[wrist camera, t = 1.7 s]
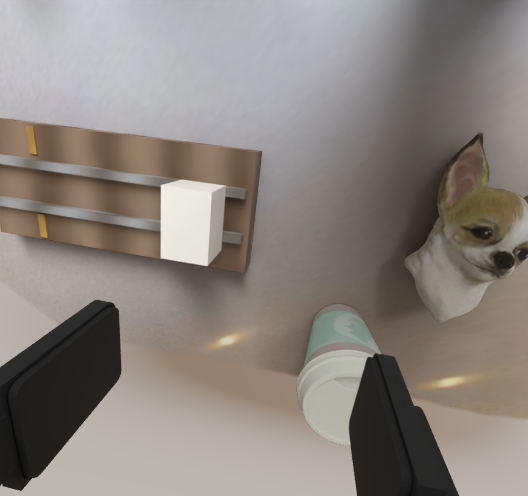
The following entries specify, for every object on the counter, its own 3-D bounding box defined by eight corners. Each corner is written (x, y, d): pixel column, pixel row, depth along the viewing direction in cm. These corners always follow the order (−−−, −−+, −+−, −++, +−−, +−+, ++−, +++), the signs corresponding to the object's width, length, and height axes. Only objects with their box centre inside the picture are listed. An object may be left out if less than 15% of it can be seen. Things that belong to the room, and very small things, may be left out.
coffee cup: (389, 341, 35) (426, 435, 24) (321, 366, 37) (325, 462, 26) (356, 280, 33) (379, 350, 22) (287, 310, 35) (276, 387, 24)
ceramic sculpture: (389, 303, 24) (522, 118, 20) (366, 266, 32) (456, 131, 28) (506, 364, 24) (663, 196, 20) (454, 312, 33) (556, 186, 28)
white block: (231, 182, 28) (211, 192, 23) (226, 243, 30) (207, 266, 25) (190, 177, 29) (160, 185, 23) (188, 237, 31) (160, 258, 25)
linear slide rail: (261, 151, 30) (254, 152, 26) (249, 262, 34) (242, 277, 30) (8, 118, 33) (-31, 115, 29) (24, 225, 37) (-8, 234, 33)
